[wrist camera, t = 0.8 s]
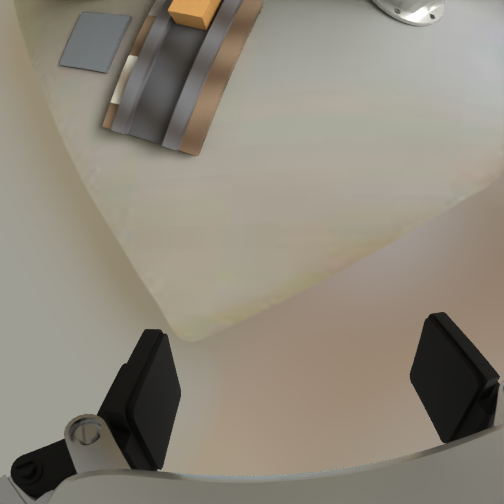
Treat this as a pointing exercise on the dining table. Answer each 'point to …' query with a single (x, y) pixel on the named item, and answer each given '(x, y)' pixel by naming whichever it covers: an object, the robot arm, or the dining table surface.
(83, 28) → the mat
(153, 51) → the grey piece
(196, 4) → the switch tab
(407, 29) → the dining table surface
